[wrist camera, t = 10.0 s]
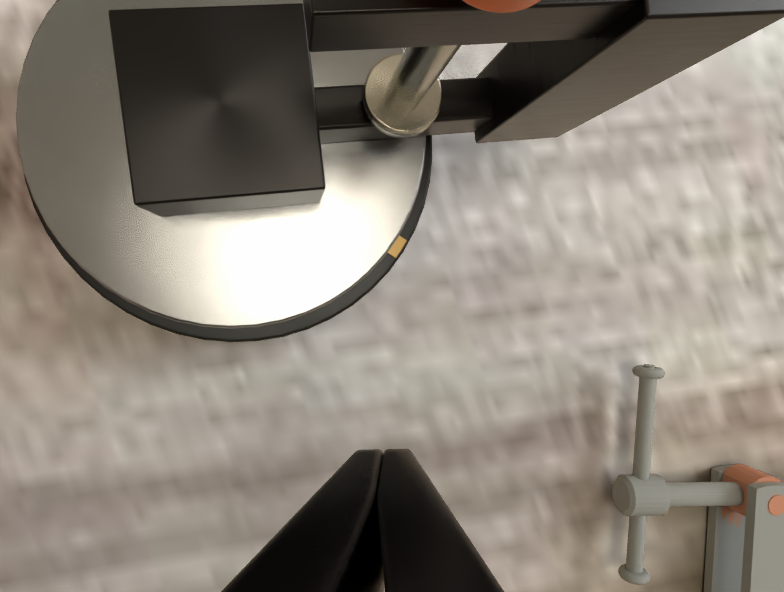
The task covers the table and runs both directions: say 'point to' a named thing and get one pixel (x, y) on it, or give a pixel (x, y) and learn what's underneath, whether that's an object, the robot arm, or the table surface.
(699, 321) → the table surface
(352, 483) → the robot arm
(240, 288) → the swivel clamp
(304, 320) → the swivel base
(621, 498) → the clamp
